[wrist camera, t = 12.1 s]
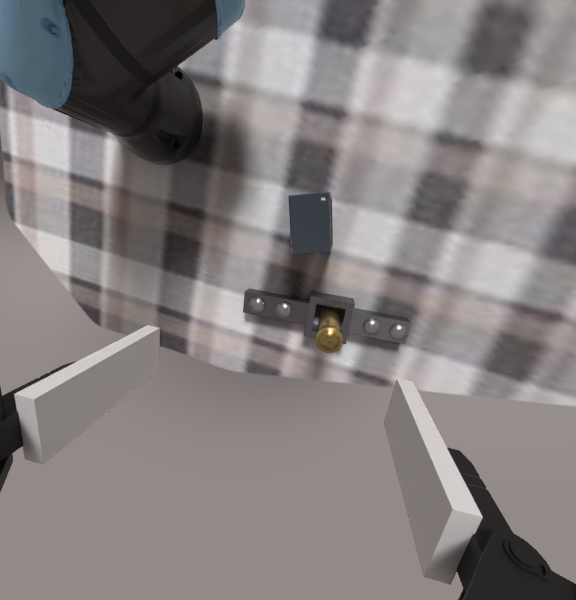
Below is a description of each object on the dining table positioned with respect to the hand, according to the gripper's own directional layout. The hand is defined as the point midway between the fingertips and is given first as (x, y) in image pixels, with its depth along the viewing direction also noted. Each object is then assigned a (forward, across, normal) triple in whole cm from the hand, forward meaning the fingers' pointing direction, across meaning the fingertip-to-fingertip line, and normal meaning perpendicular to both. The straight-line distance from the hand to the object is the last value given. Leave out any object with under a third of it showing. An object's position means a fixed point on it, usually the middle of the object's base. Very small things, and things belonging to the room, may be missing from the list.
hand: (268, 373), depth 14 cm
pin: (+35, +4, -7) cm, 36 cm away
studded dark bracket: (+35, +4, -7) cm, 36 cm away
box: (+35, -1, +8) cm, 36 cm away
